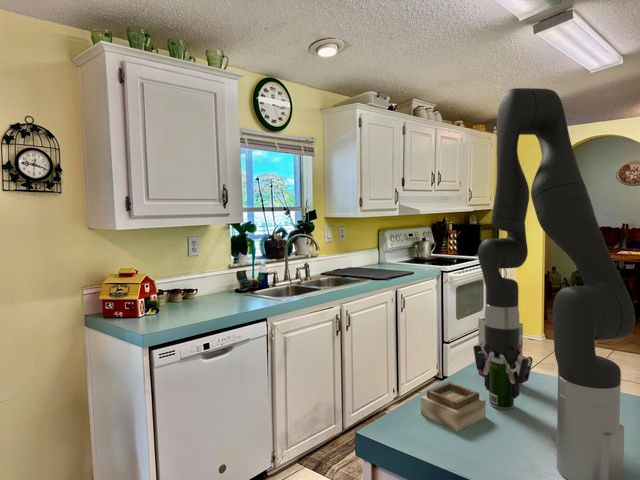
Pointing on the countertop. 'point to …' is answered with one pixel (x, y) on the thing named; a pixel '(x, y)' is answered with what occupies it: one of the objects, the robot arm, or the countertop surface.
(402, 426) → the countertop surface
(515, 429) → the countertop surface
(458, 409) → the pedestal
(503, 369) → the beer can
